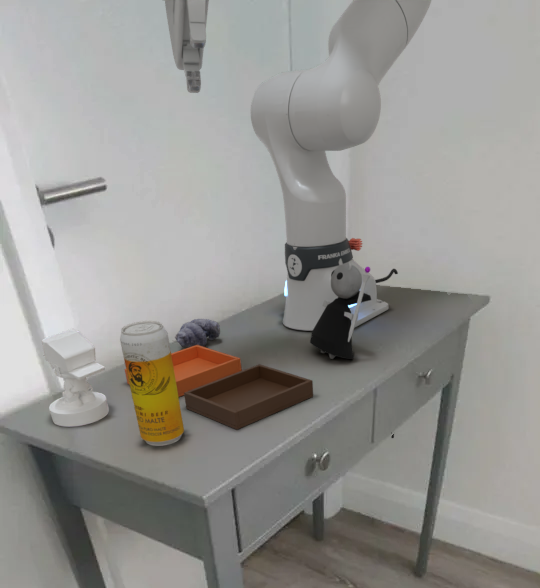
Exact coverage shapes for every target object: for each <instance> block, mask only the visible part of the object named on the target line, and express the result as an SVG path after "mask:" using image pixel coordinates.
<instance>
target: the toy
mask: <svg viewBox="0 0 540 588" xmlns="http://www.w3.org/2000/svg"><path fill="white" fill-rule="evenodd" d="M364 269H365V272H366V273H370V272H371V266H366V267H365V268H364ZM362 277H363V283H362ZM362 277H361V273H360V271H359V270H358V269H357V268H356V267H355V266H354V265H352V264H351V262H350V263H349V264H343V263H342V260H341V258H340V260H339V266H338V267H337V268H336V269H335V270H334V271H333V272H332V274H331V288H332V291H333V292H334V294H336V295H337V296H338V298H336V299H335V300H334V301H333V302H330V301H325V300H324V303H323V306H325V307H326V308H325V310H324V312H323V313H322V315H321V317H320V319H319V320H318V322H317V324H316V325H315V327H314V329H313V331H311V334H310V340H309V343H310V344H311V345H312V346H314V347H315V348H316V349H318V350H320V353H321V354H325V353H326V354H328V356H329V359H332V360H334V358H335V357H338V358H341V359H347V360H353V359H354V358H355V356H354V349H353V342H352V341H353V339H352V337H353V336H352V335H353V333H354V330H355V328H356V327H355V323H356V321H357V320H358V312H359V308H360V305H361V302H365V301H370V300H371V296H370V295H368V294H365V293H364V290H365V286H366V283H367V281H368V279H369V278H370V276H369V275H365V274H362ZM361 284H362V286H361ZM360 287H361V290H360ZM359 290H360V291H359ZM353 304H357V305H356V309H355V312H354V314H351V311H350V309H349V306H348V305H353ZM351 320H352V324H351ZM354 327H355V328H354Z"/></svg>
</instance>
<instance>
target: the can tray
mask: <svg viewBox="0 0 540 588" xmlns="http://www.w3.org/2000/svg"><path fill="white" fill-rule="evenodd" d="M171 356H172V362H173V368H174V374H175V380H176V385H177V391H178V397H179V398H180V397H183V396H184V393H185V392H187V391H190V390H192V389H195V388H198V387H200V386H203V385H205V384H208V383H211V382H213V381H216V380H219V379H221V378H224V377H227V376H229V375H232V374H235V373H237V372H240V371H243V369H242V360H241V357H238V356H235V355H232V354H228V353H225V352H221V351H218V350H215V349H212V348H208V347H206V346H204V347H203V346H199V345H195V346H192V347H189V348H187V347H185V348H184V349H180V350H177V351H174V352H171ZM124 375H125V378H126V383H127V385H129V386H130V384H129V380H128V375H127V371H126V368H124Z"/></svg>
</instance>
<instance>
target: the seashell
mask: <svg viewBox="0 0 540 588" xmlns="http://www.w3.org/2000/svg"><path fill="white" fill-rule="evenodd" d="M220 334H221V326H220V324H219V323H218V322H217V321H215V320H212V319H209V318H194V319H192V320H191V321H187V322H184V323H182V325H181V327H180V328H179V331H178V332H177V333H176V334H175V336H174V339H175V340H176V342H177V343H178V344H179V345H180V347H182V348H189V347H192V346H195V345H199V346H203V347H206V345H207V340H210V341H214V340H216V339H218V338H219V337H220ZM207 338H208V339H207Z"/></svg>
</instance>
